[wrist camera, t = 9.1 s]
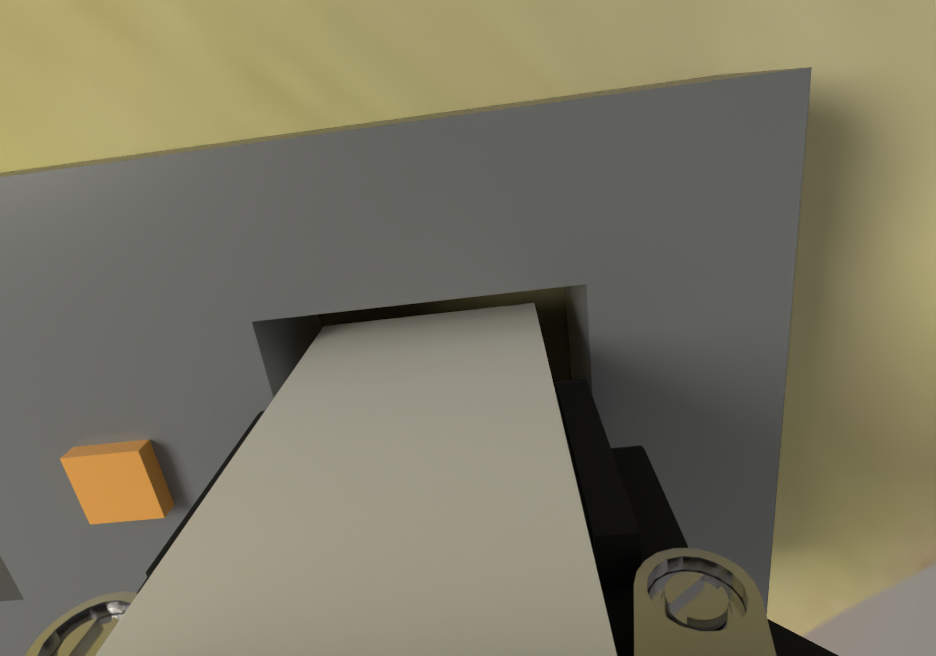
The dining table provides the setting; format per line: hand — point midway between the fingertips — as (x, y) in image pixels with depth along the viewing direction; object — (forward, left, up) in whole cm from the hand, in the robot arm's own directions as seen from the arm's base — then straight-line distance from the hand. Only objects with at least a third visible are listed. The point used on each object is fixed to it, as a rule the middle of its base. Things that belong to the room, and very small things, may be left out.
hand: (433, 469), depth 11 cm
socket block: (0, -6, -4) cm, 8 cm away
